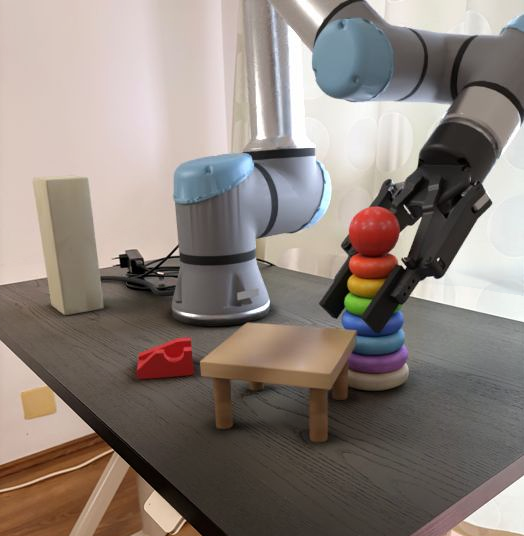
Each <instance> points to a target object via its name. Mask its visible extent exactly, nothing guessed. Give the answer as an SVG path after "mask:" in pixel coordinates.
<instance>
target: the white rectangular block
mask: <svg viewBox="0 0 524 536" xmlns="http://www.w3.org/2000/svg"><path fill="white" fill-rule="evenodd" d="M31 180H32V187H33V193H34V200H35V206H36V207H35V208H36V213H37V221H38V225H39V226H38V227H39V232H40V233H39V234H40V238H41V240H40V241H41V247H42V252H43V259H44V265H45V272H46V278H47V285H48V293H49V299H50V303H51V307H53V308H55V309H56V310H57V311H58V312H60V313H61V314H62V315H64V316H70V315H74V314H81V313H85V312H91V311H96V310H102V309H104V299H103V289H102V281H101V280H100V276H101V273H100V265H99V257H98V247H97V240H96V232H95V224H94V223H95V222H94V216H93V214H94V213H93V207H92V200H91V190H90V189H91V188H90V182H89V178H88V177H86V176H79V175H70V174H69V175H55V176H37V177H32V179H31Z"/></svg>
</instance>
